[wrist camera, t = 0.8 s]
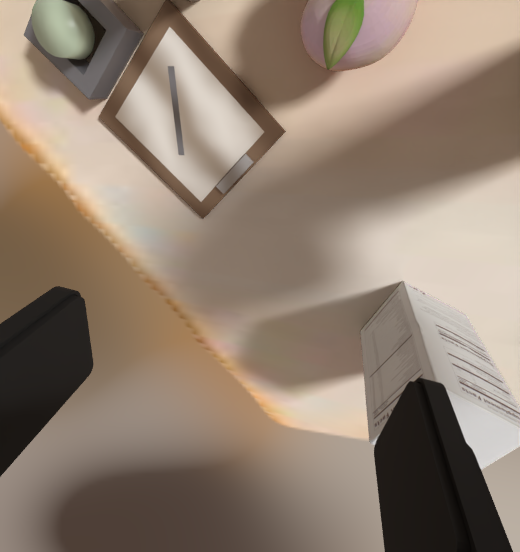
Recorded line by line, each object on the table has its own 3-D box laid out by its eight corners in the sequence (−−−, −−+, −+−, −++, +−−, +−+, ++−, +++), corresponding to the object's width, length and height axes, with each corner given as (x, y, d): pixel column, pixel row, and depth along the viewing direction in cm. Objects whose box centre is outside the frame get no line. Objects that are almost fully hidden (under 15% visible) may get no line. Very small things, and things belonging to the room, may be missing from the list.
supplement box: (417, 362, 45) (453, 490, 30) (357, 331, 44) (365, 446, 30) (470, 313, 40) (542, 438, 25) (403, 278, 39) (437, 385, 25)
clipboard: (169, 0, 31) (164, -3, 30) (285, 131, 35) (283, 132, 34) (102, 116, 38) (95, 117, 37) (204, 217, 41) (201, 220, 40)
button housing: (78, -37, 31) (55, -48, 29) (143, 33, 33) (126, 29, 30) (46, 39, 35) (23, 34, 33) (106, 98, 37) (89, 99, 34)
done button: (63, -10, 30) (42, -18, 28) (102, 30, 31) (84, 25, 29) (45, 33, 32) (24, 29, 30) (82, 70, 33) (64, 69, 31)
